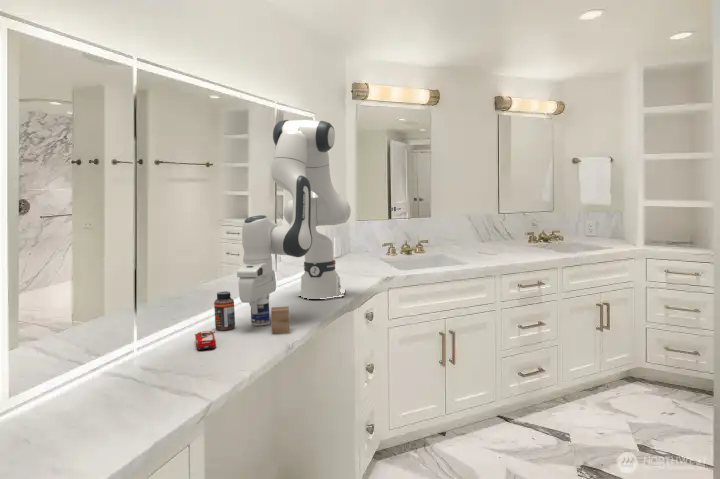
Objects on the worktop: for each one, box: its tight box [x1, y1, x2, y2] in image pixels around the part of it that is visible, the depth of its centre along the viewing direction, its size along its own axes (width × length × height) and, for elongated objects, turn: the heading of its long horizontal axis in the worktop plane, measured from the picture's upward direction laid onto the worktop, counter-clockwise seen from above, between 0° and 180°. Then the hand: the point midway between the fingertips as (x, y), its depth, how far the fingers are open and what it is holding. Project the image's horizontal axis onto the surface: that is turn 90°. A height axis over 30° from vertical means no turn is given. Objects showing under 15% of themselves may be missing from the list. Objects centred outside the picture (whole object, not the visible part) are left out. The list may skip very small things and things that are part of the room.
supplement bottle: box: [213, 291, 236, 332], centre depth 165 cm, size 6×6×11 cm
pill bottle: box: [250, 293, 271, 327], centre depth 170 cm, size 6×6×10 cm
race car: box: [194, 330, 217, 351], centre depth 148 cm, size 13×5×4 cm, turn 17°
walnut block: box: [270, 305, 290, 335], centre depth 160 cm, size 5×5×7 cm
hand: (260, 311), depth 170 cm, fingers closed on pill bottle, 6 cm apart
